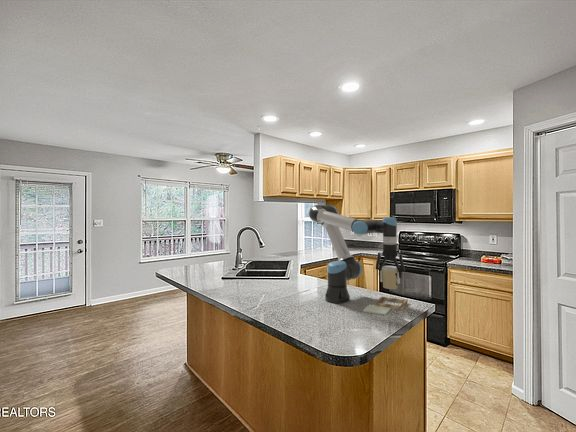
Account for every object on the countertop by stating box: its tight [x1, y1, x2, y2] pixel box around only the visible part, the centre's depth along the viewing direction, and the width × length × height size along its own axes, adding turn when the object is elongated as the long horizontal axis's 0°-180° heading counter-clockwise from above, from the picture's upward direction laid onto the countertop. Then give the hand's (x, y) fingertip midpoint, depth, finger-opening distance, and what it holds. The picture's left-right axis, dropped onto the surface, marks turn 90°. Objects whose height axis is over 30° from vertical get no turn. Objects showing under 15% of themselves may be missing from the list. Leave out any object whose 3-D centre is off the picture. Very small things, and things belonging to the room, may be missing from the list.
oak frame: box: [373, 296, 408, 311], centre depth 168 cm, size 15×15×2 cm
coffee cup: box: [382, 265, 399, 290], centre depth 168 cm, size 9×9×12 cm
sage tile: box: [362, 303, 392, 316], centre depth 159 cm, size 12×12×1 cm
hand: (390, 282), depth 168 cm, fingers closed on coffee cup, 9 cm apart
